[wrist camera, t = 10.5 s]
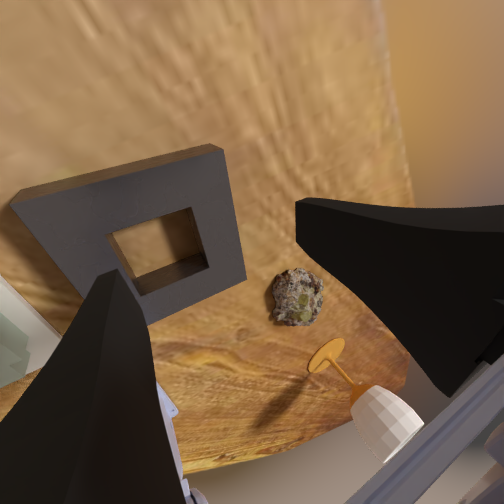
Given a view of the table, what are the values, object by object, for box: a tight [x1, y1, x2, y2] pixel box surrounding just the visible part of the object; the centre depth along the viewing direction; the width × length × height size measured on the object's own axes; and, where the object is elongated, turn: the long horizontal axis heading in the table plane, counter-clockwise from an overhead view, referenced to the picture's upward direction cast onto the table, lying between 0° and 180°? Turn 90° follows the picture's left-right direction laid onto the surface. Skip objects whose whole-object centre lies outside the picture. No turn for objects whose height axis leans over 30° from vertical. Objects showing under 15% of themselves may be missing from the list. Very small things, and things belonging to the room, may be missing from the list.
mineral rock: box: [272, 268, 324, 326], centre depth 31 cm, size 11×4×8 cm
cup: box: [308, 338, 424, 463], centre depth 41 cm, size 9×9×16 cm
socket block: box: [9, 143, 247, 326], centre depth 18 cm, size 12×12×2 cm
